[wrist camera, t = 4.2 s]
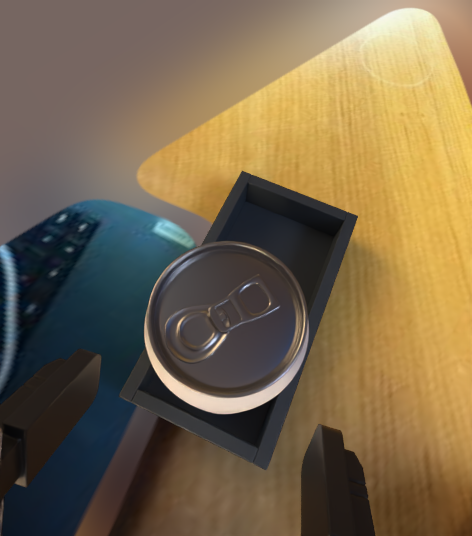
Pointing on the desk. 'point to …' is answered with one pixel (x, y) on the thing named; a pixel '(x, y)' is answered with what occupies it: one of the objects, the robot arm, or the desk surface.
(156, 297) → the can
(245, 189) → the tray
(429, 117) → the desk surface
